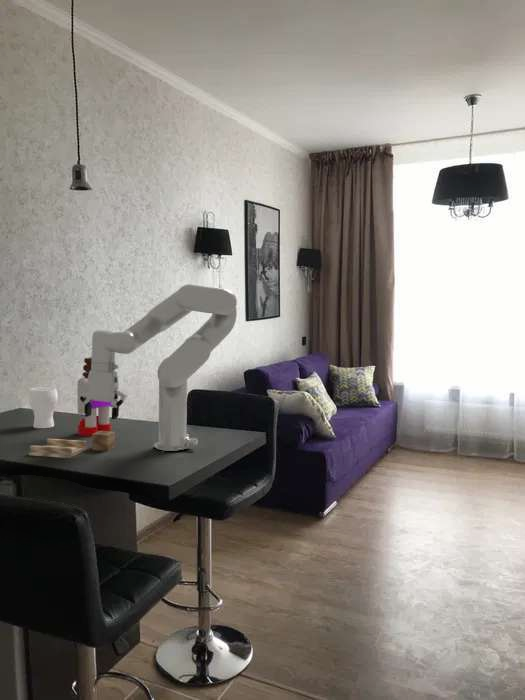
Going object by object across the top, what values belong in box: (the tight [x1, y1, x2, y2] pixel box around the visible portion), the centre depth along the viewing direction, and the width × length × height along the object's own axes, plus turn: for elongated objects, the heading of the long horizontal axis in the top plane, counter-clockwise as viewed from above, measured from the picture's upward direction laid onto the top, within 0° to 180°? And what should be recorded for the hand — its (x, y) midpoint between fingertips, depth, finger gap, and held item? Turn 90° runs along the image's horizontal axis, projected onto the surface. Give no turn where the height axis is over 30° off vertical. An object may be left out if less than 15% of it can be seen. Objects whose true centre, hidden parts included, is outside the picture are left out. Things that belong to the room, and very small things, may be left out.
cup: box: [28, 386, 59, 429], centre depth 224 cm, size 11×11×15 cm
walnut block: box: [91, 430, 116, 452], centre depth 193 cm, size 6×6×6 cm
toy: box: [76, 355, 114, 437], centre depth 215 cm, size 18×9×30 cm, turn 149°
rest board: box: [28, 438, 88, 459], centre depth 187 cm, size 14×12×3 cm
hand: (101, 417), depth 192 cm, fingers open, 9 cm apart
